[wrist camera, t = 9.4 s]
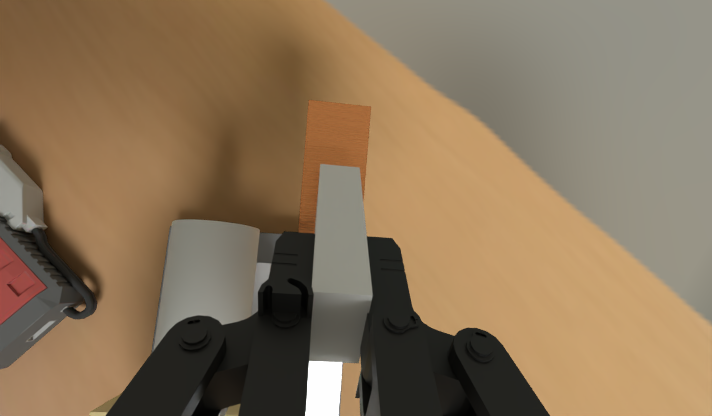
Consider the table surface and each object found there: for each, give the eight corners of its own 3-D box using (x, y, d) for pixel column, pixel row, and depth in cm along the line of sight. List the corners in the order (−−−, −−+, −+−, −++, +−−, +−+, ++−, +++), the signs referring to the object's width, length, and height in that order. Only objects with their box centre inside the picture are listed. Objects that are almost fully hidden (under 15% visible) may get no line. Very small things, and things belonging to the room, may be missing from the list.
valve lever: (338, 523, 17) (372, 104, 17) (274, 524, 16) (308, 97, 16) (334, 477, 20) (363, 118, 19) (280, 477, 19) (309, 112, 19)
